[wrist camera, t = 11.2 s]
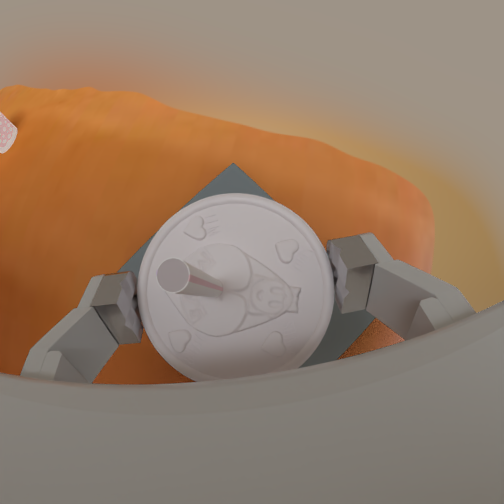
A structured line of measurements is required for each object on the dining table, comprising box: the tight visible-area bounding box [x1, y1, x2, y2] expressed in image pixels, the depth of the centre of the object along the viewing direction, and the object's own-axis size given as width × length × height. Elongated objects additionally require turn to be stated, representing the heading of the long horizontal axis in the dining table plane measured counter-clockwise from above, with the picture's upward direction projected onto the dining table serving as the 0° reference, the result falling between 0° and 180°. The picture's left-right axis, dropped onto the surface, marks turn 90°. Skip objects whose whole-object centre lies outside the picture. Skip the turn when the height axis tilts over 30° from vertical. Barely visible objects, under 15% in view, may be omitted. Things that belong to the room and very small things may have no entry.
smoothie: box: [137, 193, 334, 382], centre depth 11 cm, size 6×6×14 cm
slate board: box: [117, 163, 376, 369], centre depth 23 cm, size 18×14×2 cm
